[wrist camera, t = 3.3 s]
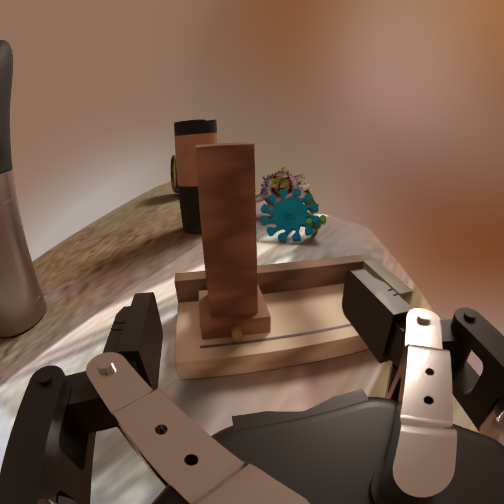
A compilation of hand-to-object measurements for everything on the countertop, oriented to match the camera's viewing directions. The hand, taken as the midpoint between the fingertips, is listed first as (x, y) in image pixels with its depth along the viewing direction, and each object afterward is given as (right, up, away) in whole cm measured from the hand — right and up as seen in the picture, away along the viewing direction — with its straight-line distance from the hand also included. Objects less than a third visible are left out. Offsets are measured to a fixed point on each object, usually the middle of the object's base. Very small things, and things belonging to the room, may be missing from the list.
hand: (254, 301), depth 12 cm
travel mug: (-9, +6, +43) cm, 45 cm away
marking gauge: (-2, -4, +14) cm, 14 cm away
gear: (+7, +5, +38) cm, 39 cm away
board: (+4, -5, +15) cm, 17 cm away
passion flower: (+7, +10, +52) cm, 53 cm away
